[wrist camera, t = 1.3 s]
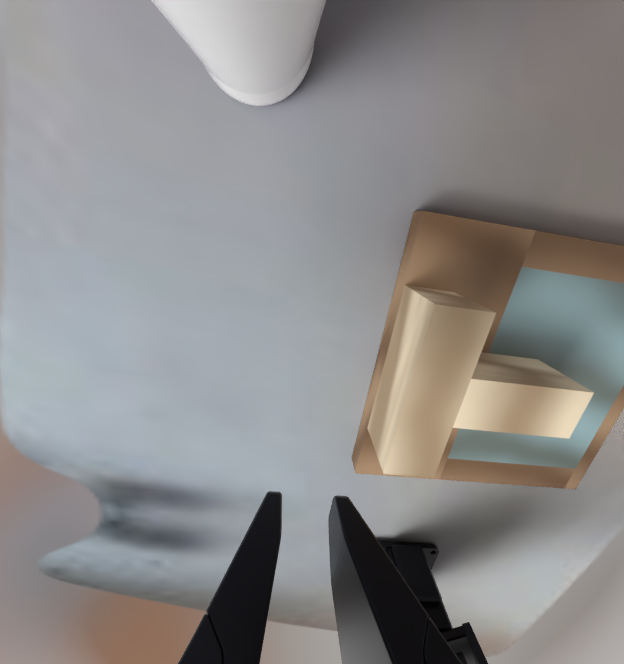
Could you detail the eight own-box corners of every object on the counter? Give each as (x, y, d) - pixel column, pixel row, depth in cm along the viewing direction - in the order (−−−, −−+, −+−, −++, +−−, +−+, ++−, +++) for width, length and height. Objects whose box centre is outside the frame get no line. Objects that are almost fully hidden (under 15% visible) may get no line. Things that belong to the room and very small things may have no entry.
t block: (367, 428, 21) (383, 473, 18) (404, 285, 18) (435, 304, 14) (501, 440, 22) (543, 485, 19) (561, 307, 19) (627, 331, 15)
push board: (560, 474, 26) (575, 489, 25) (351, 458, 24) (355, 473, 23) (681, 257, 20) (710, 261, 18) (414, 211, 18) (424, 210, 16)
